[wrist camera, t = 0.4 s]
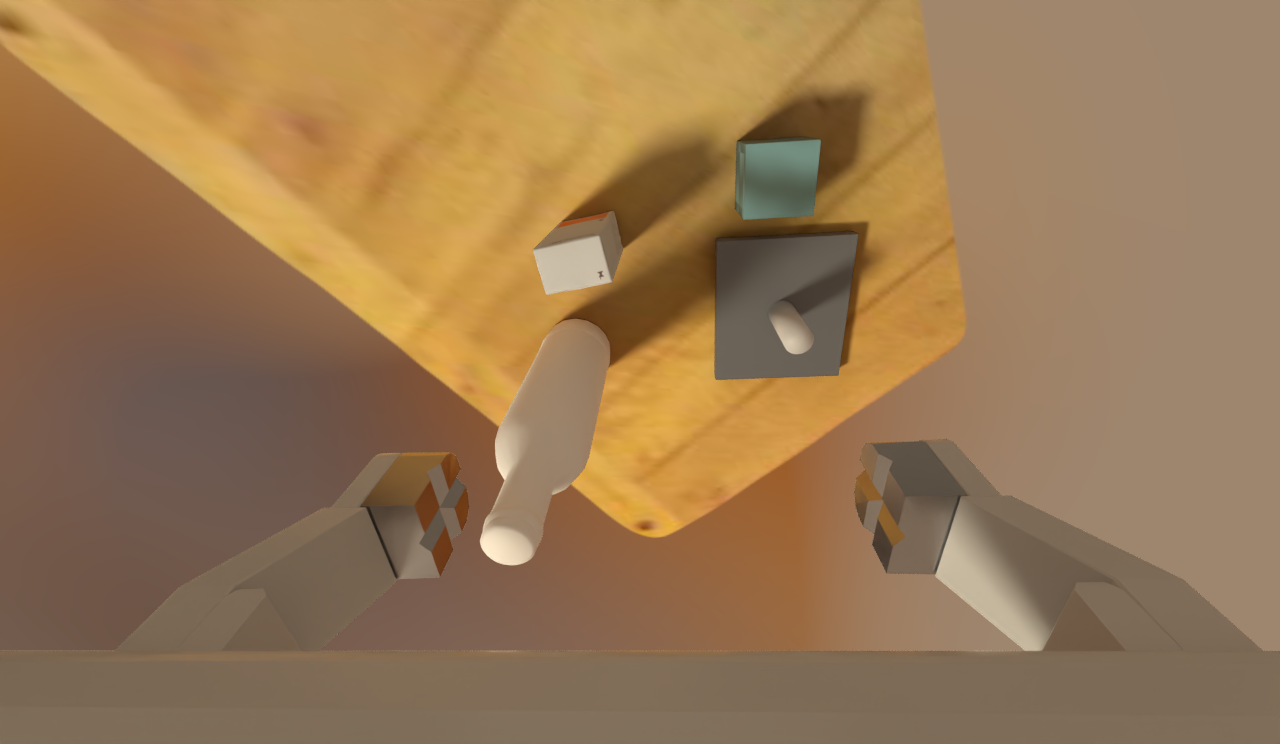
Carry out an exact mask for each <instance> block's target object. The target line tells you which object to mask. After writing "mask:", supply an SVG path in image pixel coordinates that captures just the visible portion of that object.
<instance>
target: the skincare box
mask: <svg viewBox="0 0 1280 744" xmlns="http://www.w3.org/2000/svg"><path fill="white" fill-rule="evenodd" d="M622 251H623V246H622V242H621V237H620V233H619V229H618V225H617V220H616V216H615V212H614V211H610V212H606V213H602V214H598V215H593V216H589V217H585V218H579V219H574V220H569V221H564V222H560V223H559V224H558V225H557V226H556V227H555V228H554V229H553V230H552V231H551V232H550V233H549V234H548V235H547V236H546V237H545V238H544V239H543V240H542V241H541V242H540V243H539V244H538V245H537V246H536V247H535V248H534V249H533V252H534V256H535V259H536V262H537V266H538V269H539V272H540V276H541V279H542V283H543V286H544V289H545V293H546V294H547V295H549V294H554V293H559V292H565V291H570V290H579V289H583V288H587V287H591V286H596V285H601V284H606V283H611V282H612V281H613V278H614V275H615V272H616V269H617V266H618V263H619V260H620V257H621V254H622Z"/></svg>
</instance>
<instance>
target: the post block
mask: <svg viewBox="0 0 1280 744" xmlns="http://www.w3.org/2000/svg"><path fill="white" fill-rule="evenodd" d="M857 241H858V234H857V233H856V232H854V231H845V232H827V233H808V234H790V235H771V236H752V237H734V238H716V267H715V379H716V380H727V379H755V378H782V377H810V376H838V375H839V368H840V361H841V354H842V347H843V340H844V333H845V325H846V318H847V311H848V304H849V297H850V290H851V283H852V276H853V269H854V262H855V255H856V248H857Z"/></svg>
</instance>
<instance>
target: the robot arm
mask: <svg viewBox="0 0 1280 744" xmlns="http://www.w3.org/2000/svg"><path fill="white" fill-rule="evenodd" d="M860 461H861V463H862V465H863V467H864V468H865V471H863V472H862V473H861V474H860V475H859V476H858V477H857V478H856V484H855V491H854V494H855V506H856V509H857V513H858V516H859V518H860V521H861V523H862V525H863V526H864V527H865V528H866V529H868V530H869V531H871V532H872V533H873V534H874V538H873V543H872V545H873V547H874V549H875V551H876V553H877V555H878V557H879V559H880V561H881V563H882V565H883V567H884V569H885V571H886V573H893V574H894V573H895V574H897V573H898V574H936V576H935V577H936V578H938V579H939V580H940V581H941V582H943V583H944V584H945V585H946V586H947V587H949V588H950V589H951V590H952V591H953V592H955V593H956V594H957V595H958V596H960V597H961V598H962V599H963V600H964V601H966V602H967V603H968V604H969V605H970V606H972V607H973V608H974V609H975V610H977V611H978V612H979V613H980V614H981V615H983V616H984V617H985V618H986V619H987V620H989V621H990V622H991V623H992V624H993V625H995V626H996V627H997V628H998V629H1000V630H1001V631H1002V632H1003V633H1004V634H1005V635H1007V636H1008V637H1009V638H1010V639H1012V640H1013V641H1014V642H1015V643H1016V644H1018V645H1019V646H1020V647H1021V648H1022V649H1024V650H1025V651H319V650H321V649H322V648H323V647H324V645H326V644H327V643H328V642H329V641H331V640H332V639H333V638H334V637H335V636H336V635H337V634H338V633H340V632H341V631H342V630H343V629H344V628H345V627H346V626H347V625H348V624H350V623H351V622H352V621H353V620H354V619H355V618H356V617H358V616H359V615H360V614H361V613H362V612H363V611H364V610H365V609H366V608H367V607H369V606H370V605H371V604H372V603H373V602H374V601H375V600H377V599H378V598H379V597H380V596H381V595H382V594H383V593H384V592H386V591H387V590H388V589H389V588H390V587H391V586H392V585H393V584H394V583H395V582H396V581H397V580H396V579H410V578H434V577H435V578H437V577H441V574H442V572H443V570H444V568H445V566H446V564H447V562H448V560H449V558H450V556H451V554H452V552H453V547H452V544H451V540H452V539H453V538H455V537H456V536H457V535H459V534H460V533H461V532H462V531H463V528H464V526H465V524H466V522H467V517H468V510H469V498H468V493H467V489H466V486H465V485H464V484H463V483H461V482H460V481H459V480H458V479H457V478H456V477H457V475H458V473H459V472H460V470H461V468H460V465H459V462H458V459H457V457H456V456H455V455H454V454H452V453H382V454H379V455H376V456H374V458H373V459H372V460H371V461H370V462H369V464H368V465H367V466H366V467H365V468H364V470H363V471H362V472H361V473H360V474H359V475H358V477H357V478H356V479H355V480H354V481H353V482H352V484H351V485H350V486H349V487H348V489H347V490H346V491H345V492H344V493H343V494H342V495H341V497H340V498H339V499H338V500H337V501H336V503H335V504H334V505H333V506H332V507H331V508H322V509H321V510H319V511H317V512H315V513H313V514H311V515H310V516H308V517H306V518H304V519H302V520H301V521H299V522H297V523H295V524H293V525H291V526H290V527H288V528H286V529H284V530H283V531H281V532H279V533H277V534H275V535H273V536H271V537H270V538H268V539H266V540H264V541H262V542H260V543H259V544H257V545H255V546H253V547H251V548H250V549H248V550H246V551H244V552H242V553H240V554H239V555H237V556H235V557H233V558H231V559H230V560H228V561H226V562H224V563H222V564H220V565H219V566H217V567H215V568H213V569H211V570H210V571H208V572H206V573H204V574H202V575H200V576H199V577H197V578H195V579H193V580H192V581H190V582H188V583H186V584H184V585H182V586H181V587H179V588H178V589H177V590H176V591H175V592H174V593H173V594H172V595H171V596H170V597H169V598H168V599H167V600H166V601H165V602H164V603H163V604H162V605H161V606H160V607H159V608H158V609H157V610H156V611H155V612H154V613H153V614H152V615H151V616H150V617H148V618H147V619H146V620H145V621H144V623H142V624H141V625H140V626H139V627H138V628H137V629H136V630H135V631H134V632H133V633H132V634H131V635H130V636H129V637H128V638H127V639H126V640H125V641H124V642H123V643H122V644H121V645H120V646H119V647H118V648H117V649H116V650H115V651H0V744H1280V651H1263V650H1262V649H1261V648H1259V647H1258V646H1257V645H1256V644H1255V643H1254V642H1253V641H1252V640H1251V639H1249V638H1248V637H1247V636H1246V635H1245V634H1244V633H1243V632H1242V631H1241V630H1239V629H1238V628H1237V627H1236V626H1235V625H1233V623H1231V622H1230V621H1229V620H1228V619H1227V618H1226V617H1225V616H1224V615H1223V614H1221V613H1220V612H1219V611H1218V610H1217V609H1216V608H1215V607H1214V606H1212V605H1211V604H1210V603H1209V602H1208V601H1207V600H1206V599H1205V598H1204V597H1202V596H1201V595H1200V594H1199V593H1198V592H1197V591H1196V590H1195V589H1194V588H1192V587H1191V586H1190V585H1189V584H1188V583H1187V582H1186V581H1184V580H1183V579H1181V578H1179V577H1177V576H1175V575H1173V574H1171V573H1169V572H1167V571H1165V570H1163V569H1160V568H1158V567H1156V566H1154V565H1152V564H1150V563H1148V562H1146V561H1144V560H1142V559H1140V558H1138V557H1136V556H1134V555H1132V554H1129V553H1128V552H1126V551H1124V550H1121V549H1119V548H1117V547H1115V546H1113V545H1111V544H1109V543H1107V542H1105V541H1103V540H1101V539H1098V538H1097V537H1095V536H1093V535H1091V534H1089V533H1087V532H1085V531H1083V530H1080V529H1078V528H1076V527H1074V526H1072V525H1070V524H1068V523H1066V522H1064V521H1062V520H1060V519H1058V518H1056V517H1054V516H1052V515H1050V514H1048V513H1046V512H1043V511H1041V510H1039V509H1037V508H1035V507H1033V506H1031V505H1029V504H1027V503H1025V502H1023V501H1021V500H1019V499H1017V498H1015V497H1013V496H1002V495H1001V494H1000V493H999V492H998V491H997V490H996V489H995V488H994V487H993V486H992V484H991V483H990V482H989V481H988V480H987V479H986V478H985V477H984V475H983V474H982V473H981V472H980V471H979V470H978V469H977V468H976V467H975V465H974V464H973V463H972V462H971V461H970V460H969V459H968V458H967V457H966V456H965V454H964V453H963V452H962V451H961V450H960V449H959V448H958V447H957V445H956V444H955V443H954V442H952V441H950V440H947V439H938V440H921V441H914V442H882V443H865V445H864V447H863V448H862V451H861V456H860Z"/></svg>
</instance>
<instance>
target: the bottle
mask: <svg viewBox="0 0 1280 744" xmlns="http://www.w3.org/2000/svg"><path fill="white" fill-rule="evenodd" d="M609 364H610V343H609V341H608V339H607V337H606V334H605V333H604V332H603V331H602V330H601V329H600V328H599V327H598V326H596V325H595V324H593V323H591V322H589V321H587V320H581V319H569V320H564V321H562V322H560V323H558V324H557V325H555V326H554V327H553V328H552V329H551V330H550V332H549V333H548V334H547V336H546V337H545V338H544V340H543V342H542V344H541V348H540V350H539V352H538V354H537V355H536V357H535V359H534V361H533V363H532V365H531V367H530V369H529V371H528V373H527V375H526V377H525V379H524V381H523V383H522V384H521V386H520V388H519V390H518V392H517V394H516V396H515V398H514V400H513V402H512V404H511V406H510V408H509V410H508V411H507V413H506V415H505V417H504V419H503V421H502V423H501V425H500V427H499V429H498V433H497V437H496V441H495V452H496V461H497V466H498V470H499V472H500V473H501V475H502V477H503V478H504V480H505V481H504V483H503V486H502V488H501V490H500V493H499V495H498V497H497V500H496V503H495V504H494V507H493V509H492V511H491V513H490V514H489V515H488V516H487V517H486V520H485V522H484V526H483V533H482V536H481V539H480V543H481V548H482V549H483V551H484V552H485V554H486V555H487V556H488V557H490V558H491V559H492V560H494V561H496V562H498V563H501V564H506V565H518V564H522V563H524V562H527V561H529V560H530V559H531V558H532V557H533V556H534V554H535V551H536V548H537V546H538V545H539V544H540V541H541V539H542V536H543V524H544V520H545V517H546V513H547V510H548V506H549V503H550V500H551V496H552V495H553V494H556V493H558V492H560V491H563V490H565V489H566V488H567V487H568V486H569V485H570V484H571V483H572V482H573V481H574V480H575V479H576V478H577V477H578V476H579V475H580V473H581V472H582V471H583V469H584V468H585V466H586V463H587V460H588V458H589V454H590V450H591V445H592V440H593V435H594V431H595V426H596V421H597V416H598V412H599V407H600V402H601V397H602V393H603V388H604V383H605V378H606V374H607V370H608V367H609Z"/></svg>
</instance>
